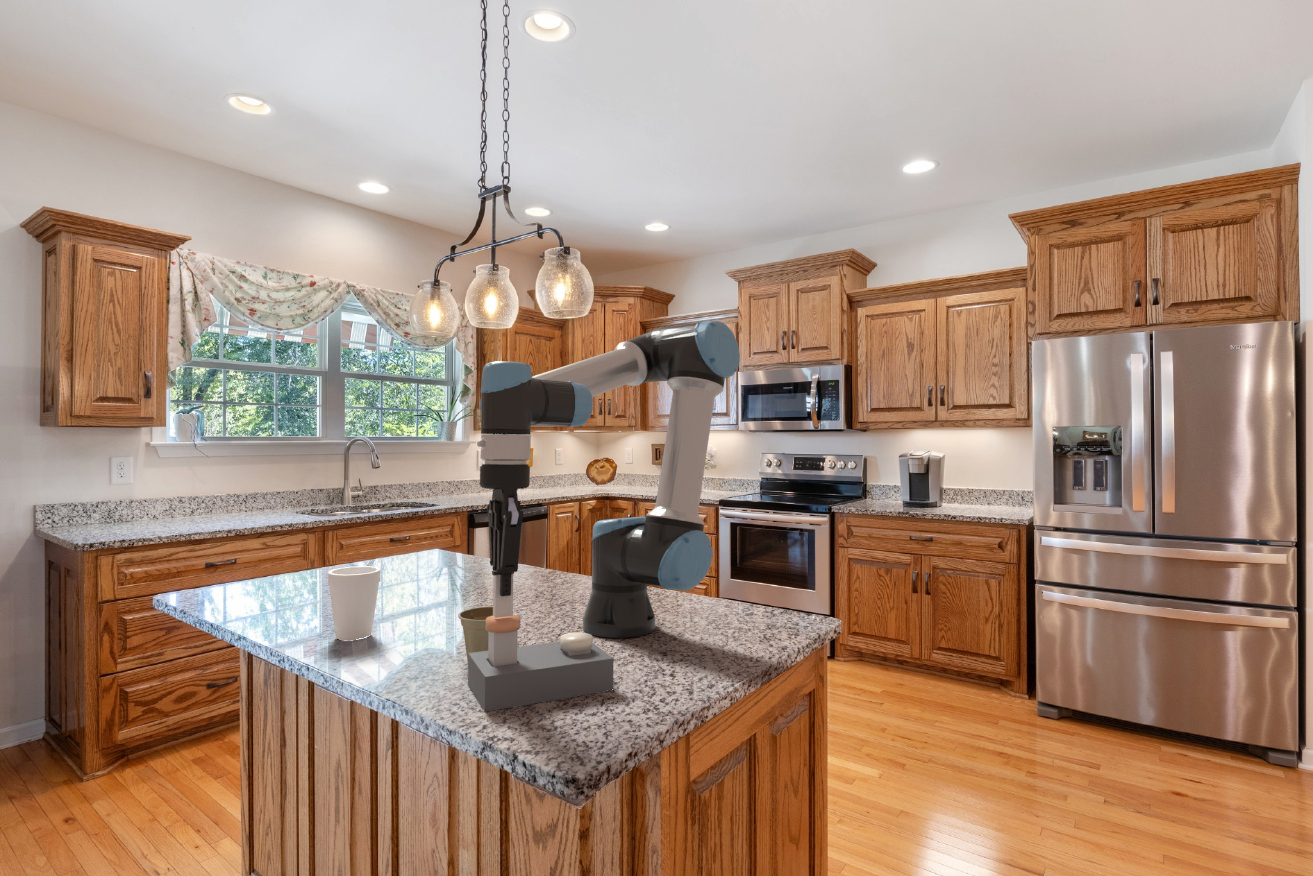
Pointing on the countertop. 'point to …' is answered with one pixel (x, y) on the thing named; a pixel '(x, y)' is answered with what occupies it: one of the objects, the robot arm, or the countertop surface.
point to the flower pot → (475, 628)
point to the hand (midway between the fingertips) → (502, 615)
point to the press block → (538, 676)
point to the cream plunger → (576, 643)
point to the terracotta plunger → (502, 639)
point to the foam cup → (353, 600)
